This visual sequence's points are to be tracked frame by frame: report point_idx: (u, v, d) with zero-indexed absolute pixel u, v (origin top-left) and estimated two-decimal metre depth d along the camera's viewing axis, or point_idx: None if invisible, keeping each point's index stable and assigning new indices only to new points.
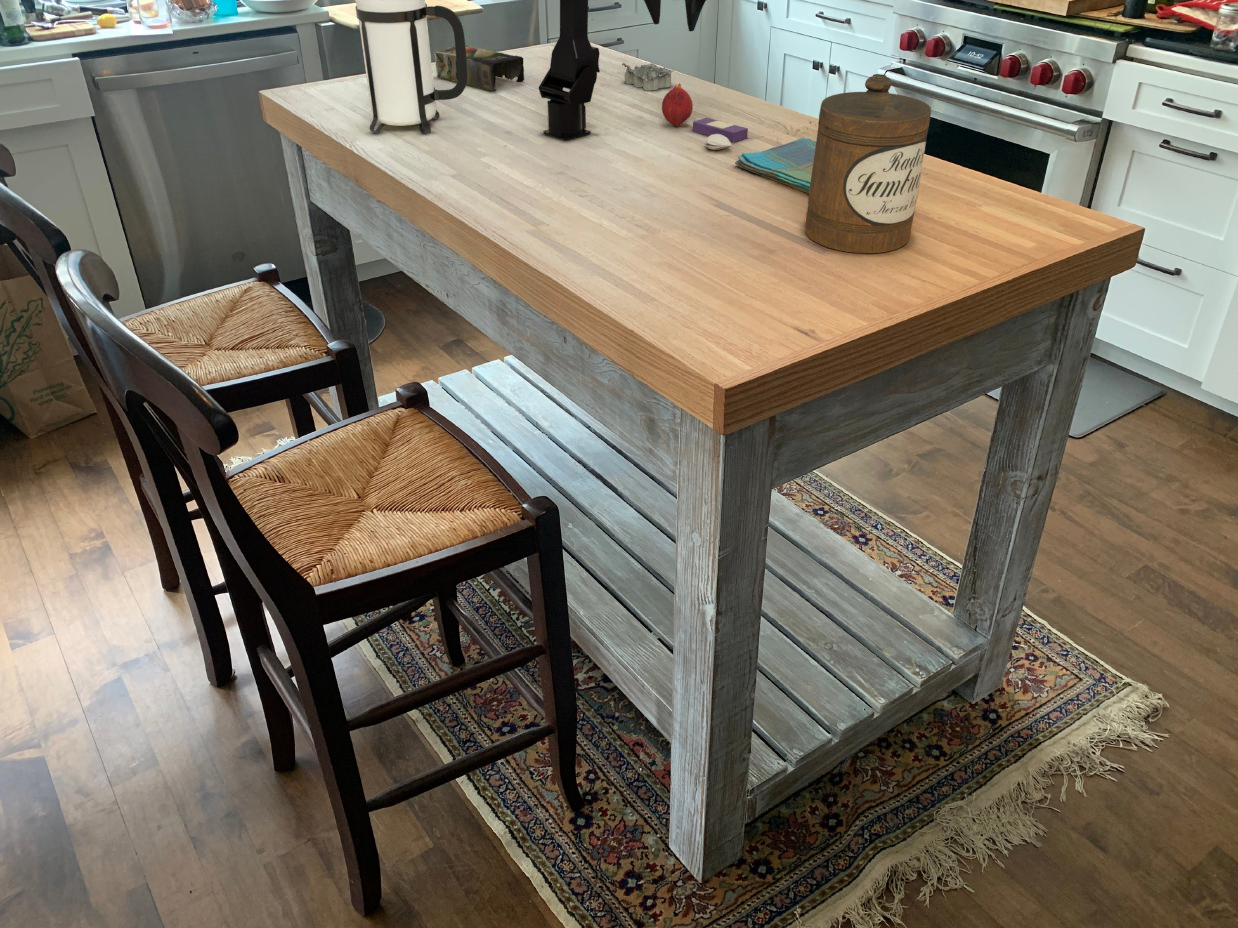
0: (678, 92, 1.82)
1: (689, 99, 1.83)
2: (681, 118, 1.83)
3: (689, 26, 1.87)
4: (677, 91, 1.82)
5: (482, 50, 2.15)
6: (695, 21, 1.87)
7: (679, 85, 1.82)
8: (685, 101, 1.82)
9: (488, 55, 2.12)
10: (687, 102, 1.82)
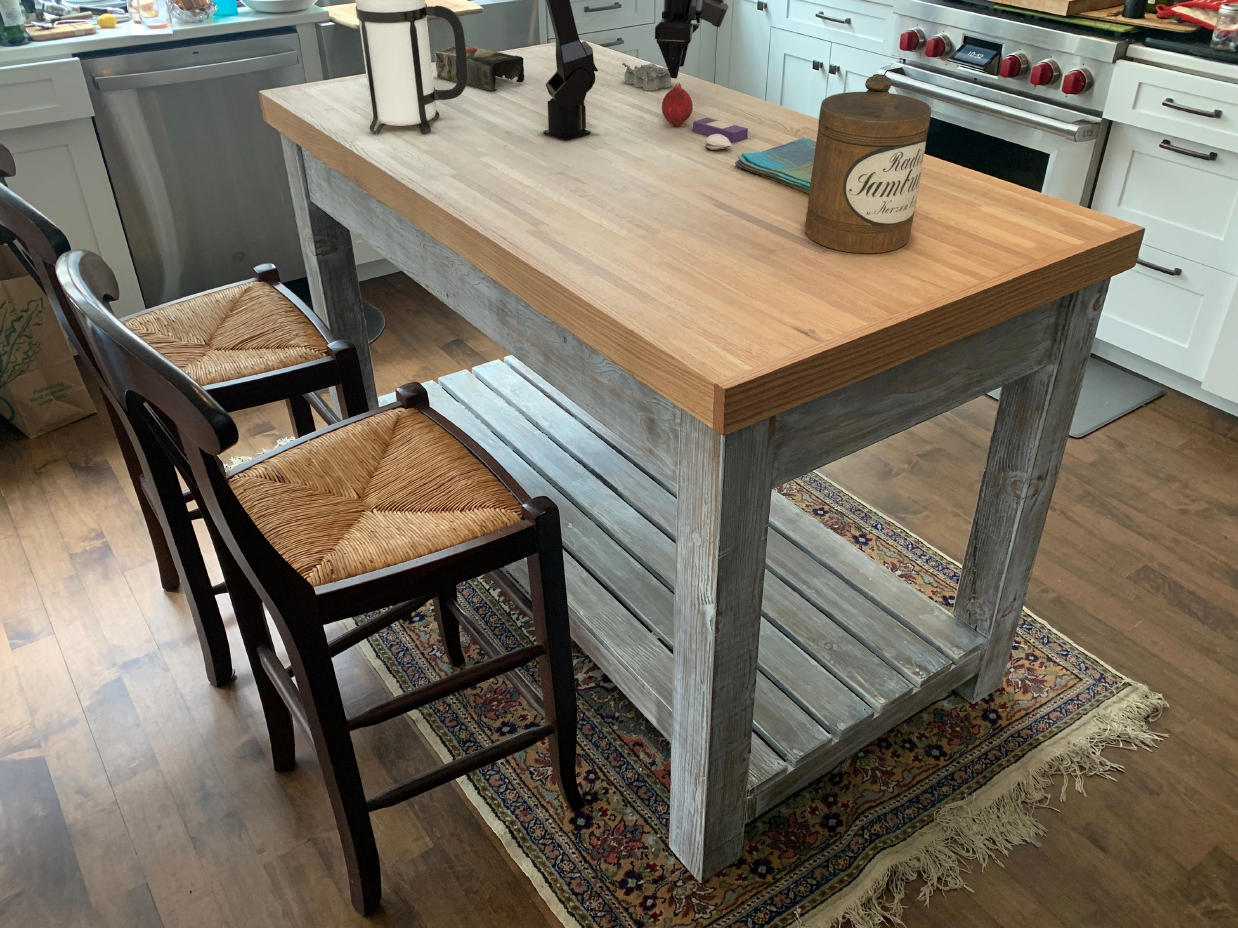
0: (678, 92, 1.82)
1: (689, 99, 1.83)
2: (681, 118, 1.83)
3: (670, 72, 1.77)
4: (677, 91, 1.82)
5: (482, 50, 2.15)
6: (675, 69, 1.76)
7: (679, 85, 1.82)
8: (685, 101, 1.82)
9: (488, 55, 2.12)
10: (687, 102, 1.82)
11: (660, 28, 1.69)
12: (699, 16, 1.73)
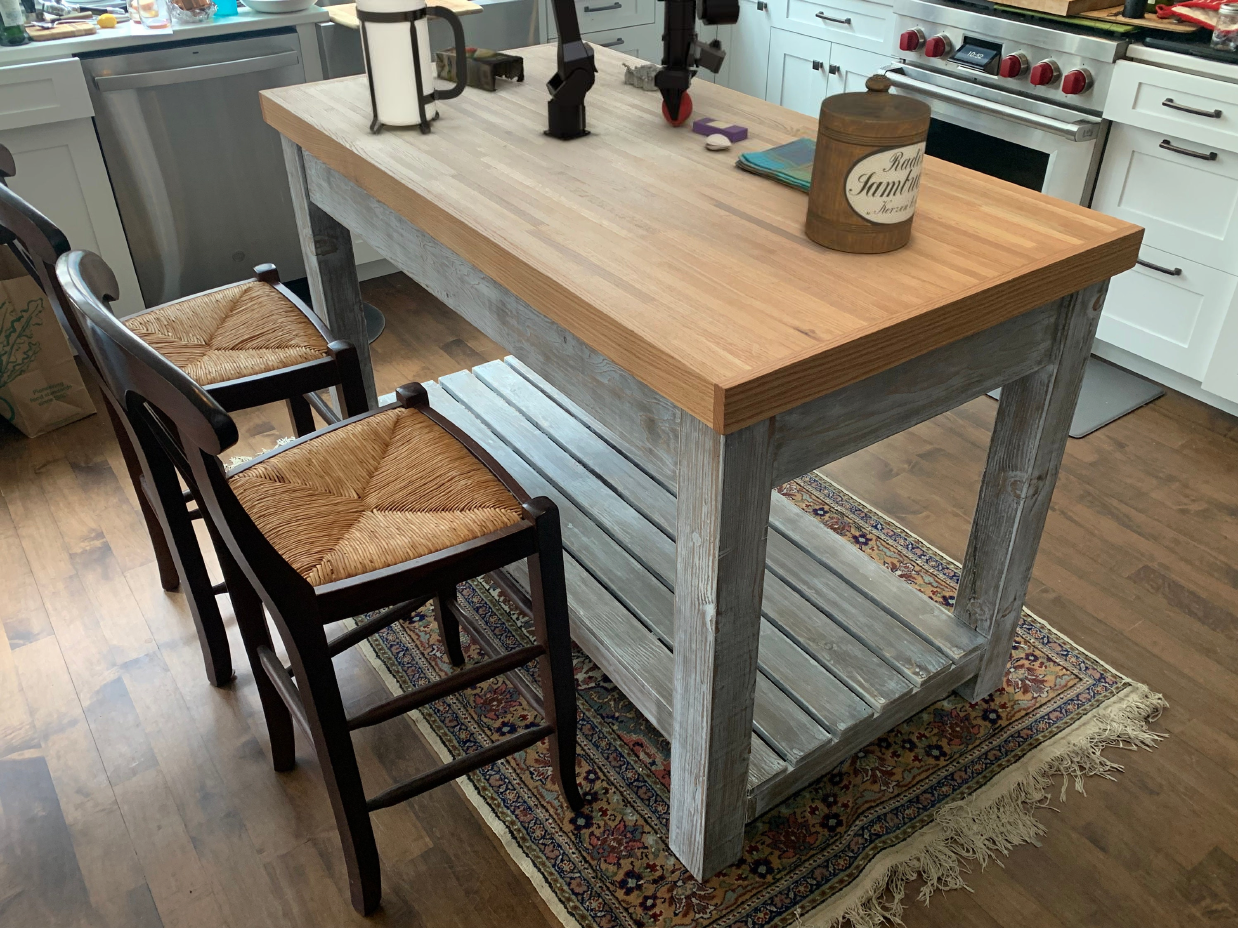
0: None
1: (689, 99, 1.83)
2: (681, 118, 1.83)
3: (670, 115, 1.82)
4: None
5: (482, 50, 2.15)
6: (676, 111, 1.81)
7: None
8: (685, 101, 1.82)
9: (488, 55, 2.12)
10: (687, 102, 1.82)
11: (659, 76, 1.73)
12: (697, 63, 1.77)
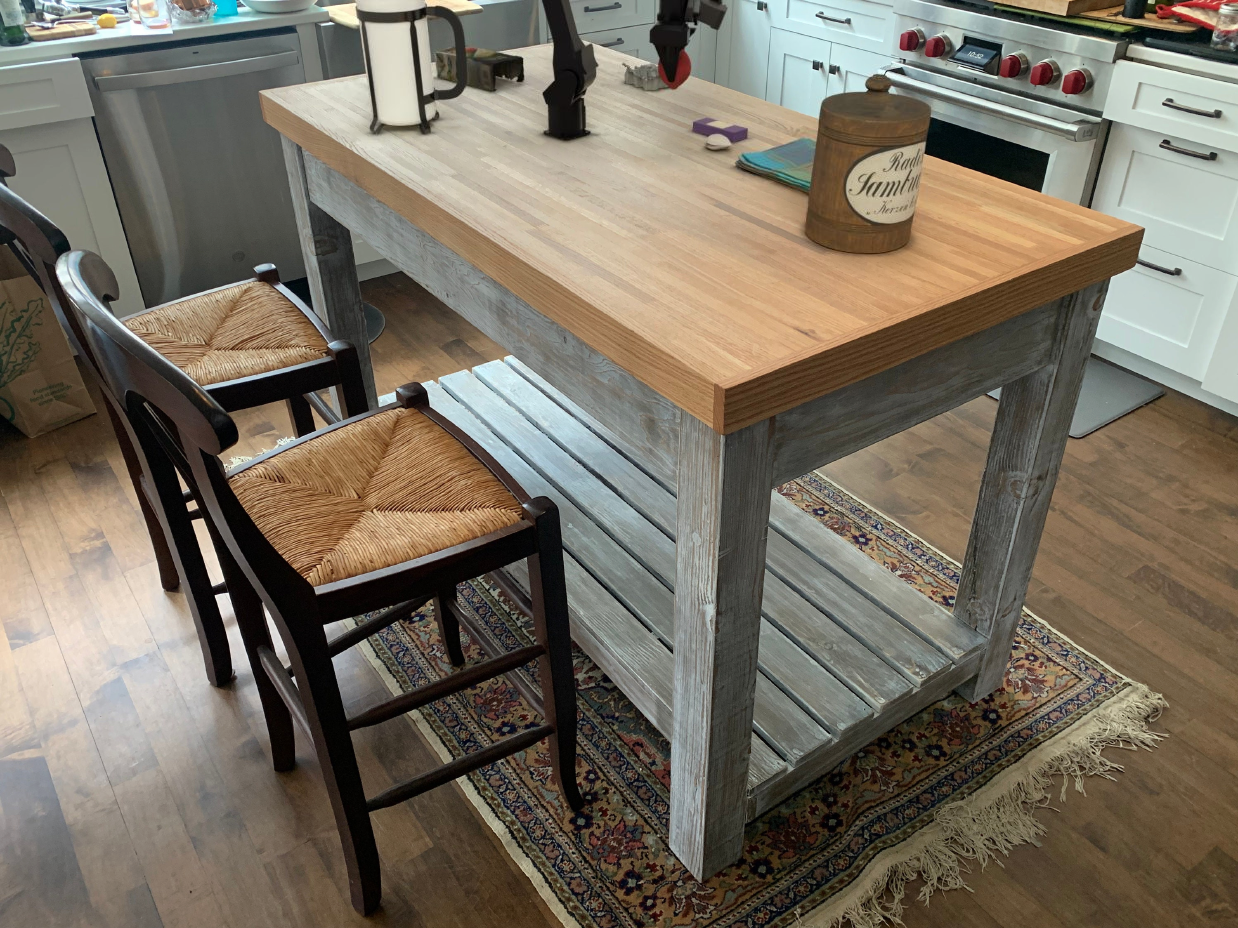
0: None
1: (687, 58, 1.69)
2: (678, 80, 1.69)
3: (667, 75, 1.68)
4: None
5: (482, 50, 2.15)
6: (673, 72, 1.67)
7: None
8: (683, 60, 1.68)
9: (488, 55, 2.12)
10: (685, 62, 1.68)
11: (654, 31, 1.59)
12: (696, 18, 1.63)
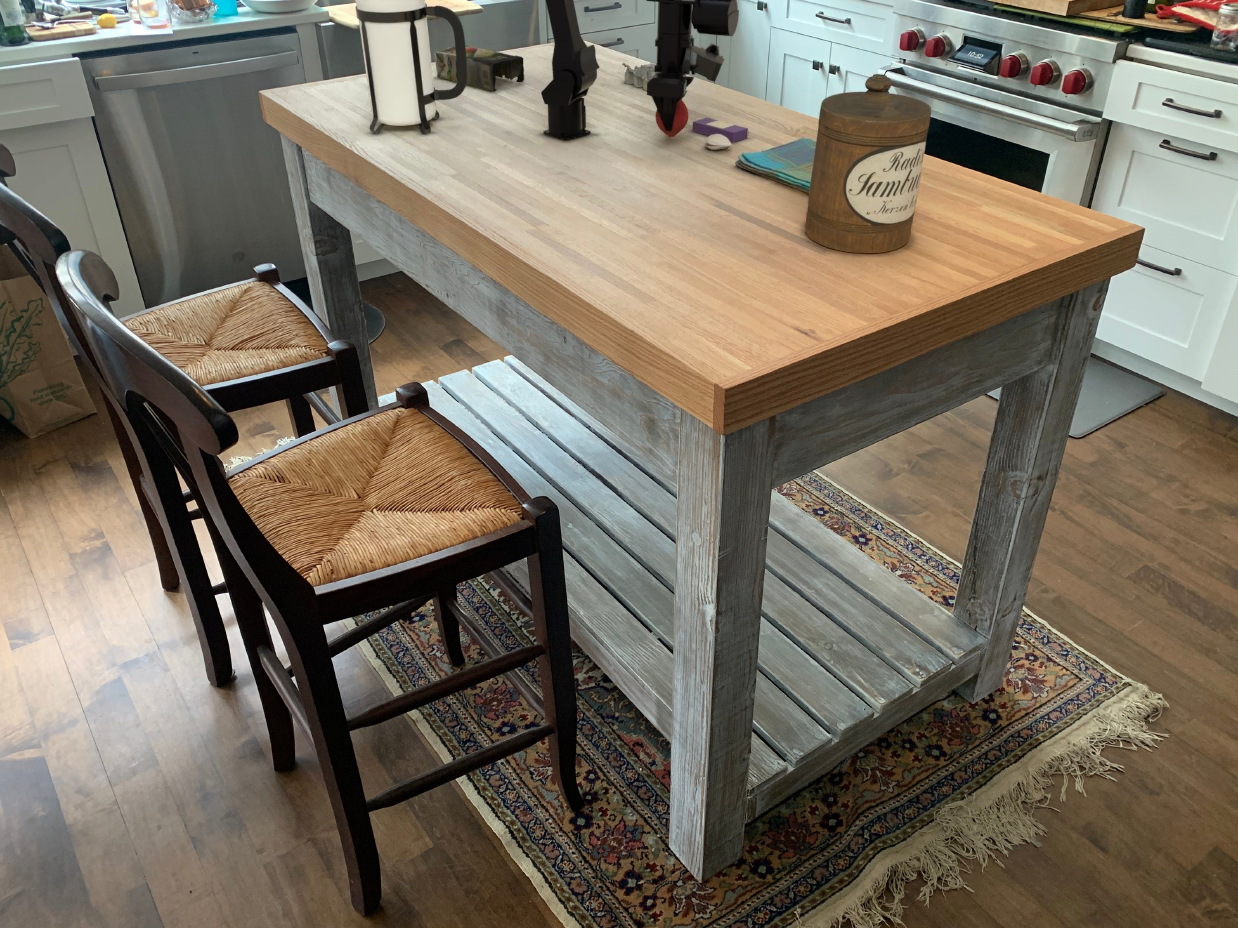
0: None
1: (685, 108, 1.71)
2: (676, 128, 1.72)
3: (664, 124, 1.71)
4: None
5: (482, 50, 2.15)
6: (670, 121, 1.70)
7: None
8: (680, 110, 1.71)
9: (488, 55, 2.12)
10: (683, 111, 1.71)
11: (652, 83, 1.62)
12: (693, 70, 1.66)
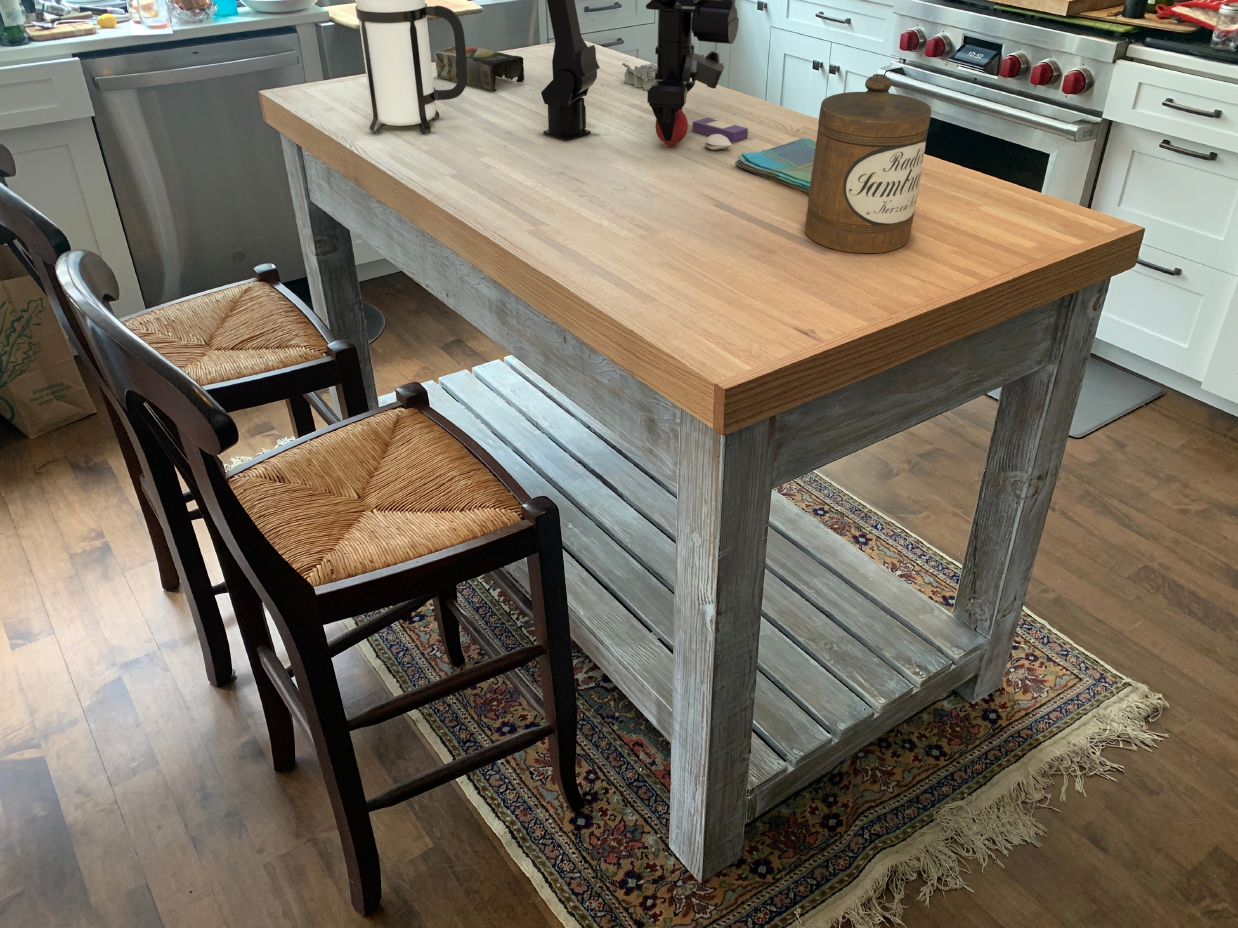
0: None
1: (684, 118, 1.72)
2: (676, 139, 1.73)
3: (663, 134, 1.70)
4: None
5: (482, 50, 2.15)
6: (669, 131, 1.69)
7: None
8: (679, 120, 1.72)
9: (488, 55, 2.12)
10: (682, 121, 1.72)
11: (652, 91, 1.62)
12: (694, 77, 1.67)
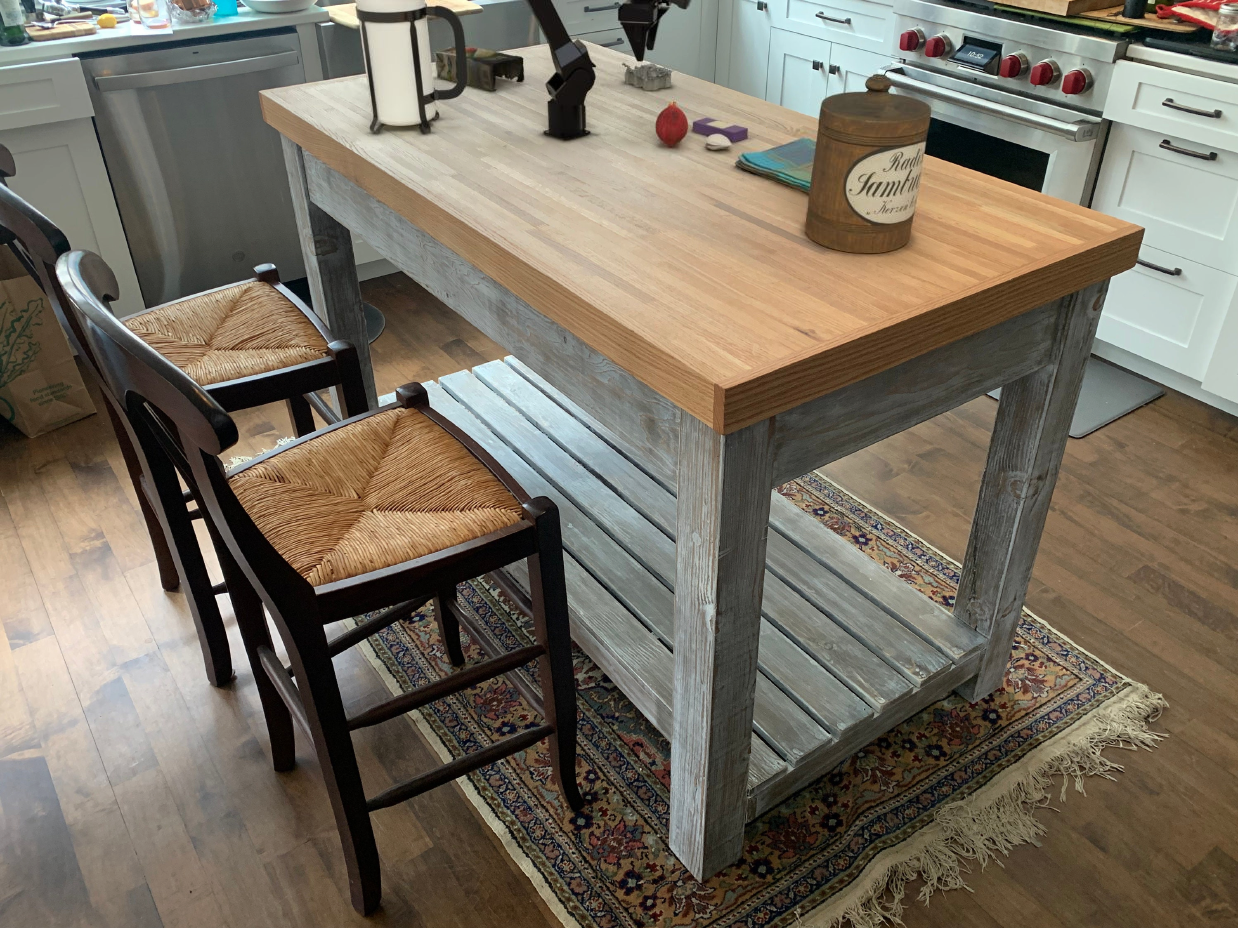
0: (672, 111, 1.71)
1: (684, 118, 1.72)
2: (676, 139, 1.73)
3: (635, 55, 1.74)
4: (671, 110, 1.71)
5: (482, 50, 2.15)
6: (641, 51, 1.73)
7: (674, 103, 1.72)
8: (679, 120, 1.72)
9: (488, 55, 2.12)
10: (682, 121, 1.72)
11: (622, 9, 1.66)
12: None
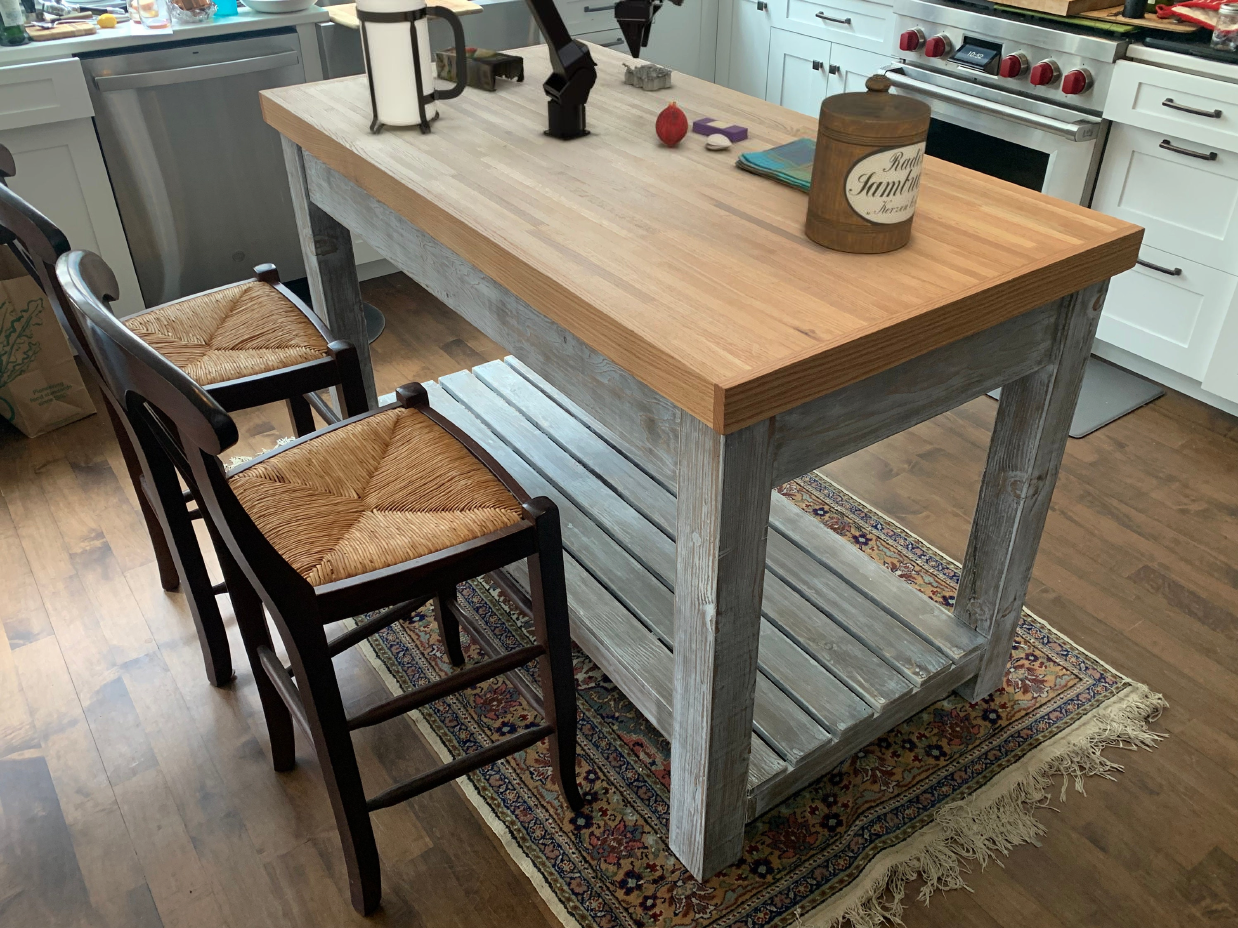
0: (672, 111, 1.71)
1: (684, 118, 1.72)
2: (676, 139, 1.73)
3: (631, 52, 1.76)
4: (671, 110, 1.71)
5: (482, 50, 2.15)
6: (637, 48, 1.75)
7: (674, 103, 1.72)
8: (680, 120, 1.72)
9: (488, 55, 2.12)
10: (682, 121, 1.72)
11: (619, 6, 1.68)
12: None
